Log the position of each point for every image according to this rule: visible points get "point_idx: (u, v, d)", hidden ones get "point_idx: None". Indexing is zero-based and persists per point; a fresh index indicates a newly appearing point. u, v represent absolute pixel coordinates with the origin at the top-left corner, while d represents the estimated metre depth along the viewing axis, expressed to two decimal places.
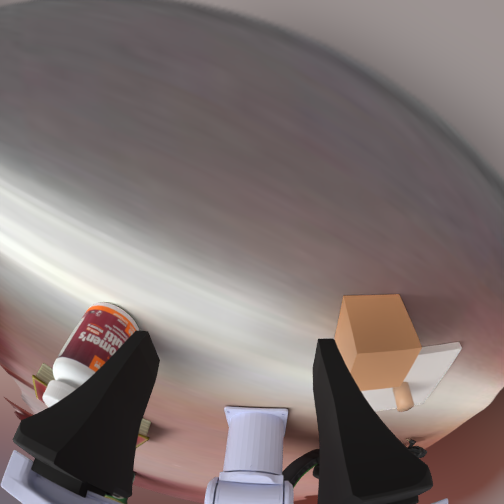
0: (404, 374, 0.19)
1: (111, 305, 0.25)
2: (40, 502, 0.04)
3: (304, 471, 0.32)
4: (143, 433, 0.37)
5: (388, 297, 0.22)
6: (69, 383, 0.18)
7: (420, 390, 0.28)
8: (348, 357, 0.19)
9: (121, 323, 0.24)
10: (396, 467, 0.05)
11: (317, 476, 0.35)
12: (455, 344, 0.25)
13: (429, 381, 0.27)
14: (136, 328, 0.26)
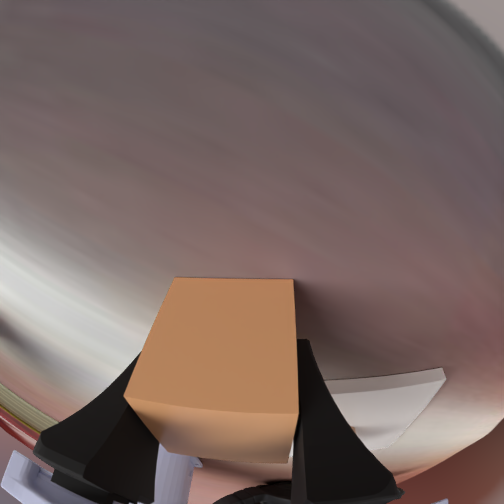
0: (283, 450, 0.08)
1: None
2: (40, 502, 0.04)
3: None
4: None
5: (265, 284, 0.12)
6: None
7: (380, 434, 0.18)
8: None
9: None
10: (357, 475, 0.05)
11: None
12: (435, 372, 0.15)
13: (393, 425, 0.17)
14: None
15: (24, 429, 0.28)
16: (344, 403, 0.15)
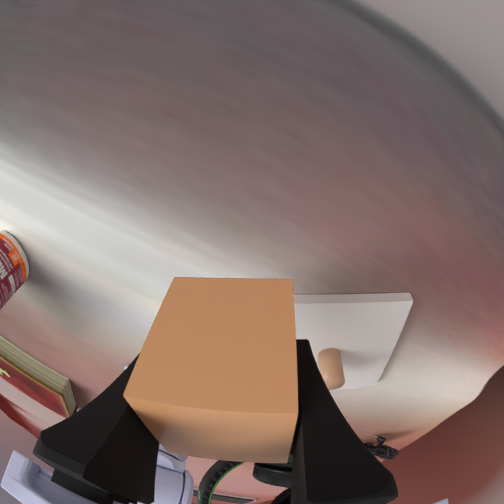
0: (282, 450, 0.08)
1: (4, 232, 0.20)
2: (40, 502, 0.04)
3: (227, 468, 0.30)
4: (59, 390, 0.31)
5: (265, 284, 0.12)
6: None
7: (364, 365, 0.24)
8: None
9: (6, 246, 0.19)
10: (357, 474, 0.05)
11: (254, 476, 0.32)
12: (403, 295, 0.20)
13: (374, 352, 0.23)
14: (22, 256, 0.21)
15: (34, 392, 0.33)
16: (326, 315, 0.21)
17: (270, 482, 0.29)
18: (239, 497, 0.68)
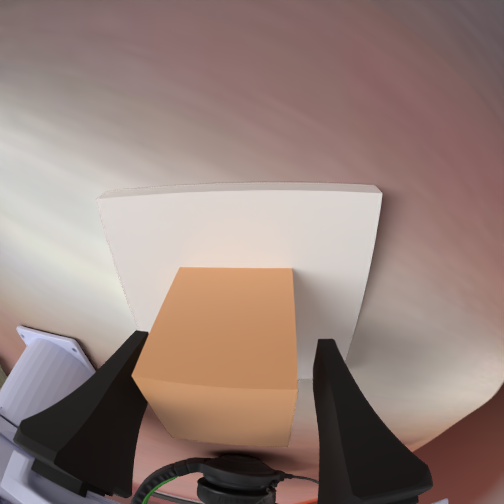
0: (283, 431, 0.09)
1: None
2: (40, 502, 0.04)
3: (156, 482, 0.22)
4: None
5: (266, 273, 0.12)
6: None
7: (310, 335, 0.15)
8: None
9: None
10: (396, 467, 0.05)
11: None
12: (362, 186, 0.11)
13: (324, 311, 0.14)
14: None
15: None
16: (208, 220, 0.12)
17: None
18: None
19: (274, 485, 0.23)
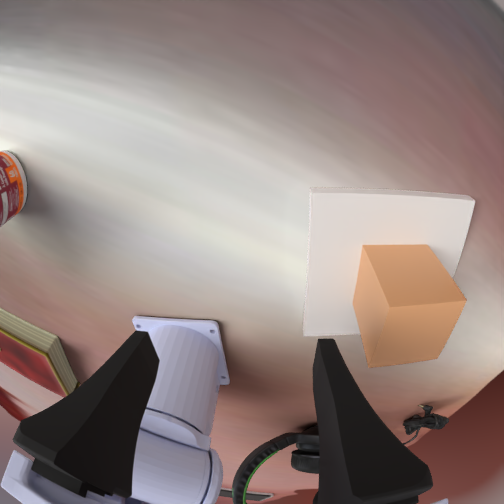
0: (443, 340, 0.14)
1: (4, 151, 0.16)
2: (40, 502, 0.04)
3: (260, 459, 0.28)
4: (44, 349, 0.26)
5: (416, 247, 0.17)
6: None
7: None
8: (375, 318, 0.15)
9: (4, 162, 0.15)
10: (396, 468, 0.05)
11: (292, 466, 0.29)
12: (463, 196, 0.16)
13: None
14: (21, 174, 0.17)
15: (25, 364, 0.29)
16: (390, 213, 0.17)
17: (309, 470, 0.27)
18: (255, 493, 0.64)
19: None
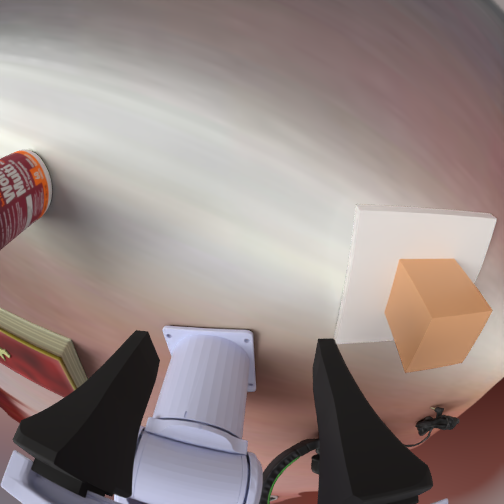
0: (469, 346, 0.14)
1: (26, 150, 0.16)
2: (40, 502, 0.04)
3: (283, 466, 0.29)
4: (57, 353, 0.26)
5: (445, 261, 0.18)
6: None
7: None
8: (414, 328, 0.15)
9: (28, 162, 0.16)
10: (396, 468, 0.05)
11: (312, 470, 0.30)
12: (486, 214, 0.16)
13: None
14: (46, 176, 0.17)
15: (36, 371, 0.28)
16: (426, 230, 0.17)
17: None
18: None
19: None
